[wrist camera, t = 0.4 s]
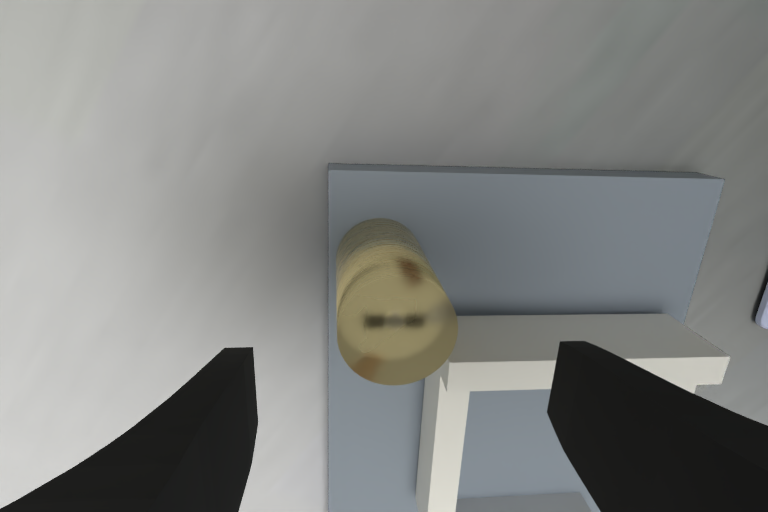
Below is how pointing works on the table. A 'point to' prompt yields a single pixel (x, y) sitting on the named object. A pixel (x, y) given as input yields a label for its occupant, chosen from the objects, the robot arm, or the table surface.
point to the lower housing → (539, 375)
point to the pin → (390, 305)
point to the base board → (505, 310)
